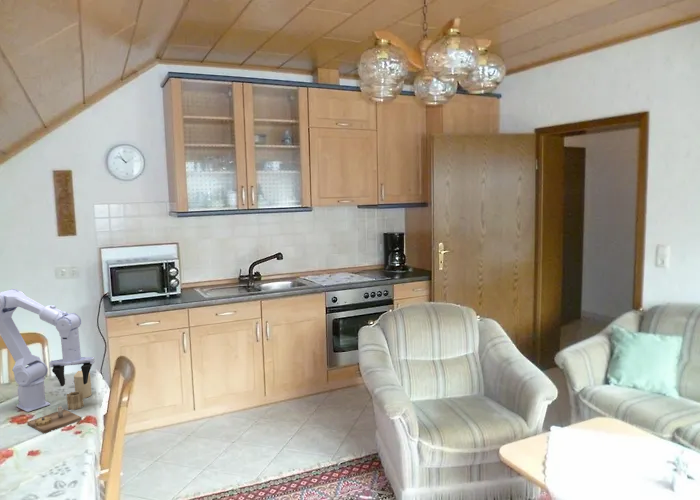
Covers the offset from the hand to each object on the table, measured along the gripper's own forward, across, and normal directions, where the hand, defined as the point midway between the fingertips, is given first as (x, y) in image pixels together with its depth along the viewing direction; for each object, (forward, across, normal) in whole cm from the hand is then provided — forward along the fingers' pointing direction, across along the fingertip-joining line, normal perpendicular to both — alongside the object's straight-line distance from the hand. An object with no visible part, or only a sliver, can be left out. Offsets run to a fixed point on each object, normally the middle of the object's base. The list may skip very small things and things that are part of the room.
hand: (74, 384), depth 183 cm
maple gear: (+9, 0, 0) cm, 9 cm away
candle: (+9, -1, +11) cm, 14 cm away
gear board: (+9, -3, -12) cm, 15 cm away
